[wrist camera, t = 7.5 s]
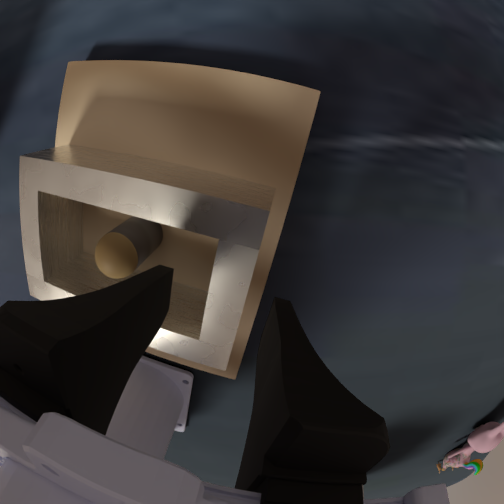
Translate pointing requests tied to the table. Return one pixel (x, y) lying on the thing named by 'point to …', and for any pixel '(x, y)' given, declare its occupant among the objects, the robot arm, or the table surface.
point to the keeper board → (186, 160)
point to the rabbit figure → (475, 447)
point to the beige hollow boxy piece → (154, 209)
